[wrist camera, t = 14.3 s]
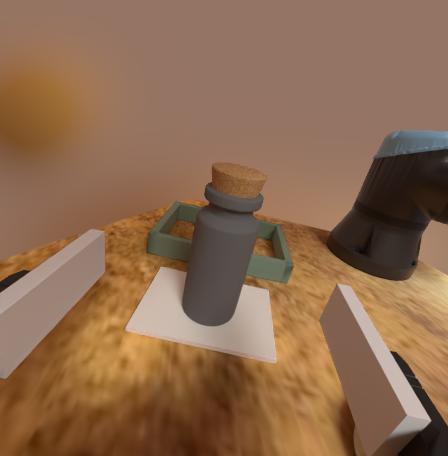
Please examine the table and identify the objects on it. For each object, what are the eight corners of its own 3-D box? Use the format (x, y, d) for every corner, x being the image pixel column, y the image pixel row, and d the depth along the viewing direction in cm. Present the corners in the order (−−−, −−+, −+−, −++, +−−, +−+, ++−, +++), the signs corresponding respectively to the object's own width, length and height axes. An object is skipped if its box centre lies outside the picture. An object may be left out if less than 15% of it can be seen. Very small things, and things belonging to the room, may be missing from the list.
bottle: (194, 281, 30) (218, 157, 24) (240, 298, 29) (277, 173, 23) (171, 313, 25) (193, 165, 18) (226, 336, 24) (269, 186, 17)
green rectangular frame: (276, 238, 47) (281, 224, 46) (286, 283, 34) (293, 266, 33) (174, 216, 47) (175, 201, 46) (146, 252, 34) (148, 233, 33)
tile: (267, 293, 32) (268, 290, 31) (275, 363, 23) (276, 360, 22) (160, 269, 32) (161, 266, 31) (125, 331, 23) (125, 327, 22)
